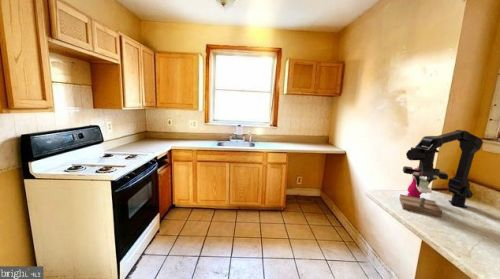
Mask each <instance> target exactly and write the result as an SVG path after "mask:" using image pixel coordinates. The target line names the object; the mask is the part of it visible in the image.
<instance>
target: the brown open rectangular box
mask: <svg viewBox="0 0 500 279" xmlns="http://www.w3.org/2000/svg"><path fill="white" fill-rule="evenodd" d="M399 202H400V206H401V208H402V210H404V211H405V210H406V211H410V212H415V213H418V214H419V213H420V214H422V215H423V214H425V215H429V216H433V217H438V218H442V214H443V211H442V210H441V208H440V207H439V205H438V204H437V202H436V201H435V200H433V199H432V200H431V199H427V198H425V197H420V198H416V197H411V196H407V195H406V194H399Z"/></svg>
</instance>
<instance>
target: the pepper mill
mask: <svg viewBox="0 0 500 279" xmlns="http://www.w3.org/2000/svg"><path fill="white" fill-rule="evenodd" d="M418 167H419V165H418V166H417V167H415V168H414V169H416V170H418ZM419 176H420V177H423V176H422V175H421V174H419ZM411 177H412V181H411V183H410V184H409V185H408V186H407V191H408V192H407V195H406V196H411V197H416V198H421V195H422V194H423V193H421V192H419V190H418V189H417V187H416V179H415V177H414V176H413V175H412V174H411Z"/></svg>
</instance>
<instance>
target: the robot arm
mask: <svg viewBox="0 0 500 279" xmlns="http://www.w3.org/2000/svg"><path fill="white" fill-rule="evenodd" d="M454 141H457V142H459V148H460V151H461V153H460V157H459V161H458V165H457V168H456V172H455V175H454V176H453V177H452V178H451V177H450V178H449V174H448V173H447V172H445V171H441V170H440V168H435V167H434V162H435V161H434V160H435V157H436V156H435V155H436V153H437V154H438V153H440V151H439V150H438V149H439V148H441V147H442V146H443V145H444V144H446V143H447V144H448V143H450V142H451V143H452V142H454ZM483 144H484V142H483V140H482V138H481V137H478V136H476V135H474V134H472V133H470V132H469V131H468V130H462V129H455V130H454V131H450V132H447V133H443V134H439V135H426V136H423V137H422V138H421V140H420V141H418V143H417V144H416V145H415V146H414V147H410V149H409V150H407V151H406V156H405V157H406V159H408V160H409V161H419V162H418V163H419V164H418V166H419V167H418V166H417V167H418V170H416V169H415V168H413V167H412V166H406V165H404V166H403V168H402V172H403V173H404V174H405V175H407V174H409V175H411V176H412V175H413V176H414V177H415V179H416V184H417V187H418V186H419V178H420V176H419V174H421V175H422V177H425V179H426V180H427V181H428V182H429V185H430V184H431V182H433V181H435V180H437V179H438V178H439V179H440V180H445V181H447V180H448V183H447V189H448V192H449V193H452V195H451V199H449V200H448V202H449V203H450V204H451V206H456V207H461V208H465V209H467V208H468V206H467V205H466V201H467V199H470V198H471V199H472V197H473V196H474V193H473V192H472V190H471V189H470V186H471V185H470V184H471V183H470V181H469V178H468V177H469V175H470V171H471V168H472V164H473V159H474V157H475V154H476V153H477V152H479V151H481V148H482V146H483ZM437 177H438V178H437Z"/></svg>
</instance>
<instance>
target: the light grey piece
mask: <svg viewBox="0 0 500 279" xmlns="http://www.w3.org/2000/svg"><path fill="white" fill-rule="evenodd" d="M426 179H427V178H426V177H423V176H422V177H420V178H419V186H418V187H417V184H416V187H417V189H418V190H419V192H421V193H422V194H432V192H433V190H432V189H431V188H430V187H429V185H430V184H429V182H428V181H427V180H426Z"/></svg>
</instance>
